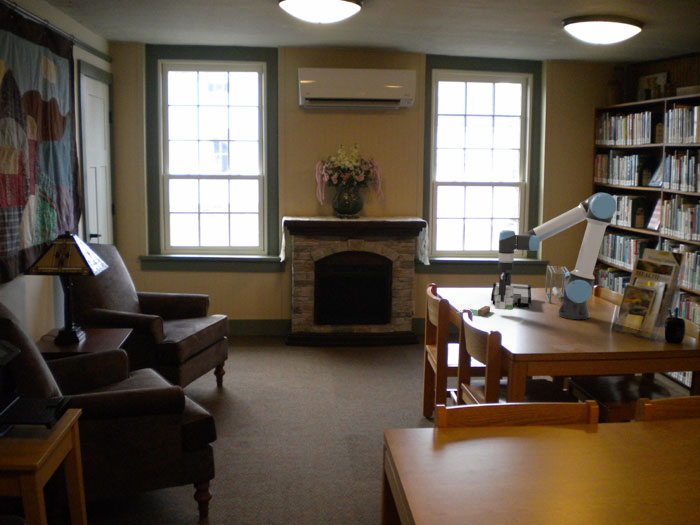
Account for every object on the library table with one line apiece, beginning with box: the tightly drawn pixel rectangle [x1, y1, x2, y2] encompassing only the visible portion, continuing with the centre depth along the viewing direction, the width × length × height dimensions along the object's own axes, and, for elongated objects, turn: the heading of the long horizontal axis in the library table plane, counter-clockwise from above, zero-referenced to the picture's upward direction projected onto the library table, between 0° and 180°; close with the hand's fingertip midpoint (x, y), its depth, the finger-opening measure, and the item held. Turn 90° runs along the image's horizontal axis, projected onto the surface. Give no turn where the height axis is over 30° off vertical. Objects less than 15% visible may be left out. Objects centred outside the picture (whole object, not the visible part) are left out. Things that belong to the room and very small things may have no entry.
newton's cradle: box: [544, 264, 570, 304], centre depth 408 cm, size 30×10×18 cm, turn 169°
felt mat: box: [455, 308, 496, 318], centre depth 362 cm, size 16×14×1 cm
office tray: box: [490, 281, 532, 309], centre depth 394 cm, size 21×32×8 cm, turn 167°
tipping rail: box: [477, 305, 491, 317], centre depth 360 cm, size 2×12×3 cm, turn 152°
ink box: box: [494, 285, 514, 311], centre depth 357 cm, size 9×5×12 cm, turn 71°
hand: (504, 306), depth 358 cm, fingers closed on ink box, 5 cm apart
